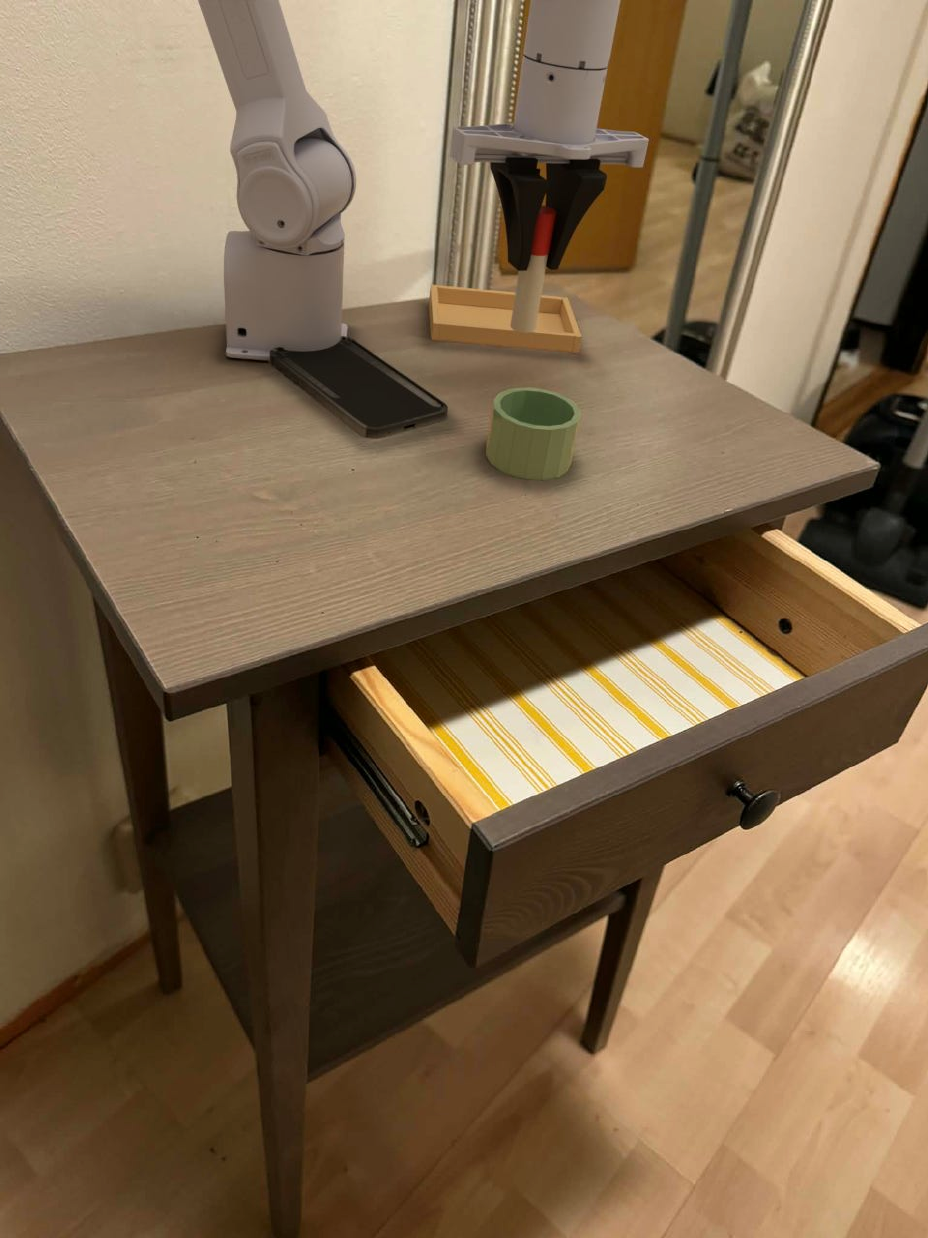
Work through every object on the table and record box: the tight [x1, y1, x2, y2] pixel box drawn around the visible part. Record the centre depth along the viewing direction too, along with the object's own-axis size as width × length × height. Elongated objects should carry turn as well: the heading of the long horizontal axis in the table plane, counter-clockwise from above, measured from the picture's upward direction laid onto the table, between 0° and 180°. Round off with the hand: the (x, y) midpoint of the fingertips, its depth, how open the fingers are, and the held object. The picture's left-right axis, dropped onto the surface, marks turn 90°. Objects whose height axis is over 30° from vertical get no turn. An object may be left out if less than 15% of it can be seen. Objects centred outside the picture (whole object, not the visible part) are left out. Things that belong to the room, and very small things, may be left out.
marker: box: [510, 204, 556, 333], centre depth 72 cm, size 2×2×9 cm
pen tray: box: [428, 284, 582, 354], centre depth 87 cm, size 13×9×2 cm
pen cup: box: [485, 386, 582, 481], centre depth 68 cm, size 6×6×4 cm
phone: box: [269, 336, 449, 440], centre depth 74 cm, size 8×1×15 cm
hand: (532, 265), depth 71 cm, fingers closed on marker, 2 cm apart
